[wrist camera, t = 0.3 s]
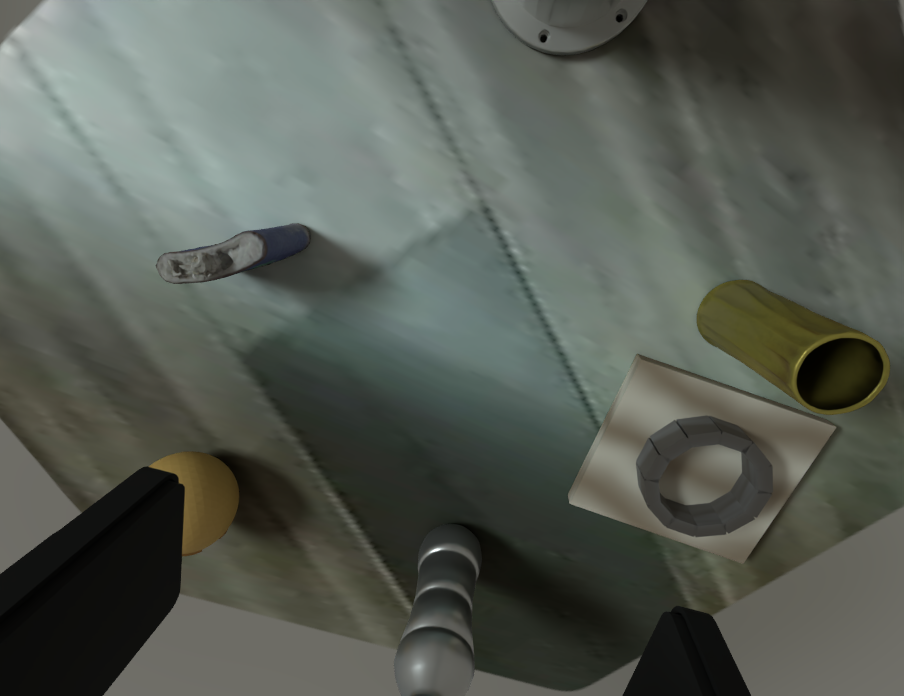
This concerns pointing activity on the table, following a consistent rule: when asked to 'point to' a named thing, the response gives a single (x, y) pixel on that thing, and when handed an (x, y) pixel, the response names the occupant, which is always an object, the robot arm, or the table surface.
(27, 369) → the table surface
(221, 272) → the flask
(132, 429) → the table surface
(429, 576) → the plastic bottle
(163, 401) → the table surface
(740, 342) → the vase
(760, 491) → the plate
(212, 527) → the stress ball
